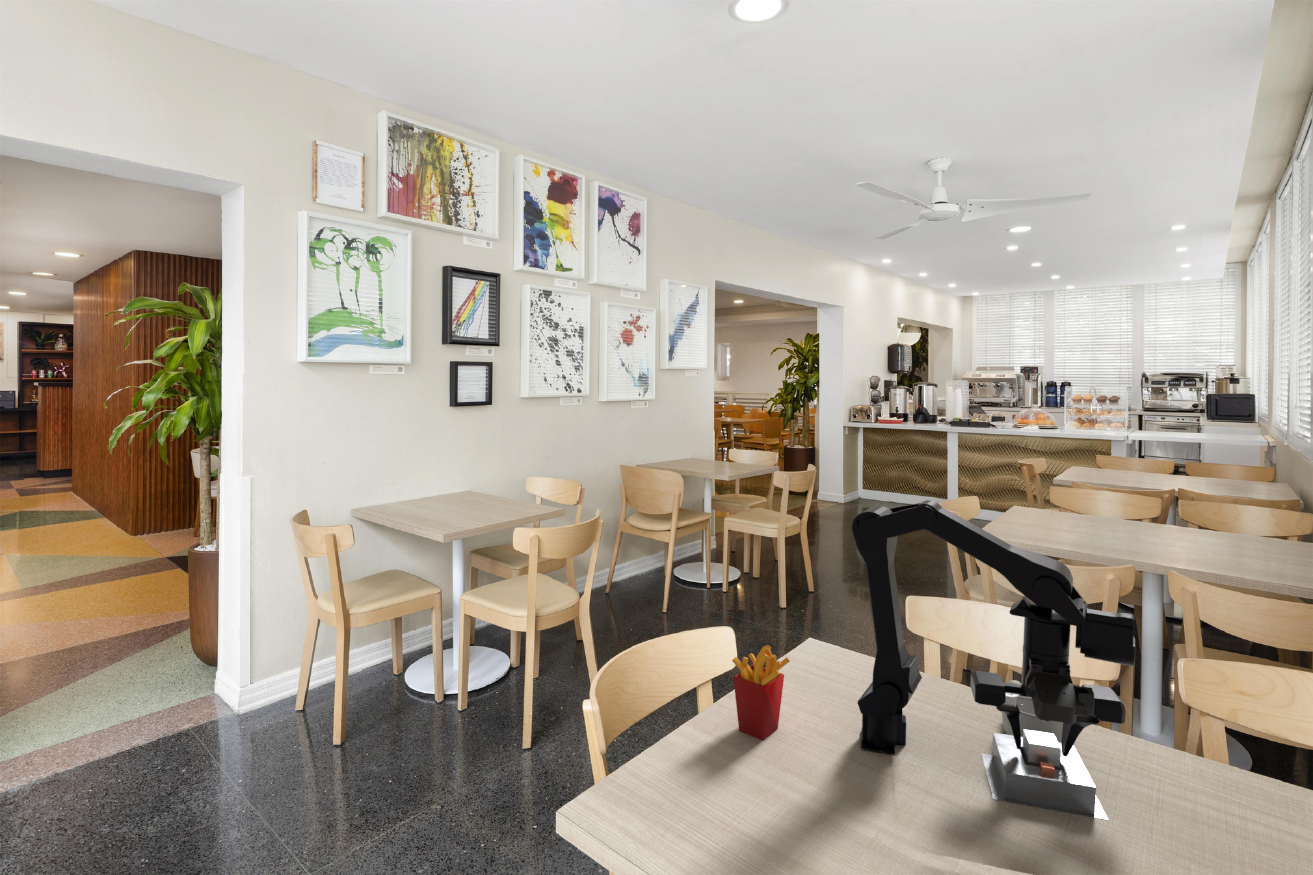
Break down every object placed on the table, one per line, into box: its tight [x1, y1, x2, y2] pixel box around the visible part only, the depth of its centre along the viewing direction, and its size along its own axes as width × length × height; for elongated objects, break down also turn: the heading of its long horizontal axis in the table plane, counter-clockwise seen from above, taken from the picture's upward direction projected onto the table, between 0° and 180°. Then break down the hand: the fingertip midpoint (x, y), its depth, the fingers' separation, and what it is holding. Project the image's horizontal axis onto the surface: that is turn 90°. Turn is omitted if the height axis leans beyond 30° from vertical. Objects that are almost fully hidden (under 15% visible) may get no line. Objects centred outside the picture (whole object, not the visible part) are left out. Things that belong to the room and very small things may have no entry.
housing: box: [980, 732, 1109, 821], centre depth 96 cm, size 14×12×6 cm
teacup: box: [1001, 679, 1063, 743], centre depth 109 cm, size 14×11×8 cm
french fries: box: [731, 644, 790, 741], centre depth 112 cm, size 9×8×15 cm
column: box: [1022, 729, 1061, 770], centre depth 96 cm, size 4×4×7 cm
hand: (1041, 751), depth 95 cm, fingers open, 6 cm apart
